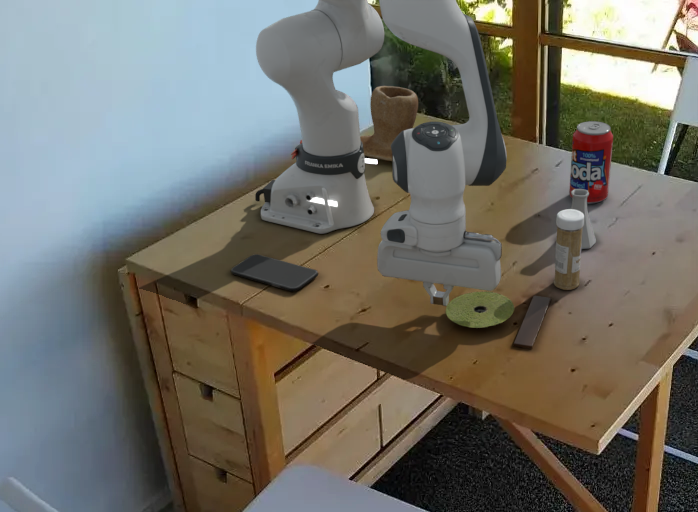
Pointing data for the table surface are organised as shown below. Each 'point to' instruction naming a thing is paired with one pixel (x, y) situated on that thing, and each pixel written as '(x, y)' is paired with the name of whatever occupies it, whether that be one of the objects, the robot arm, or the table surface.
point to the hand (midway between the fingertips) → (439, 303)
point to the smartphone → (274, 272)
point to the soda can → (591, 160)
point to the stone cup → (389, 119)
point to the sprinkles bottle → (568, 248)
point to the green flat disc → (479, 309)
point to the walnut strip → (532, 322)
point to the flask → (581, 205)
